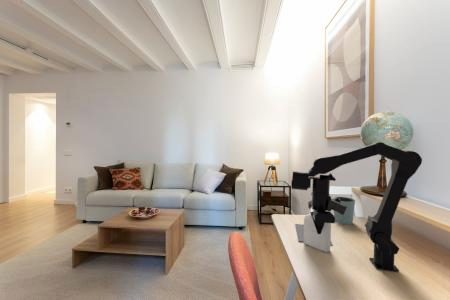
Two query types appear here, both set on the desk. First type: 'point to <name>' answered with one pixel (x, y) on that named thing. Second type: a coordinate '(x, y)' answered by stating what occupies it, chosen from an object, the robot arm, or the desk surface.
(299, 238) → the mat
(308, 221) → the photo printer
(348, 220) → the grey-blue cup
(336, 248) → the desk surface
